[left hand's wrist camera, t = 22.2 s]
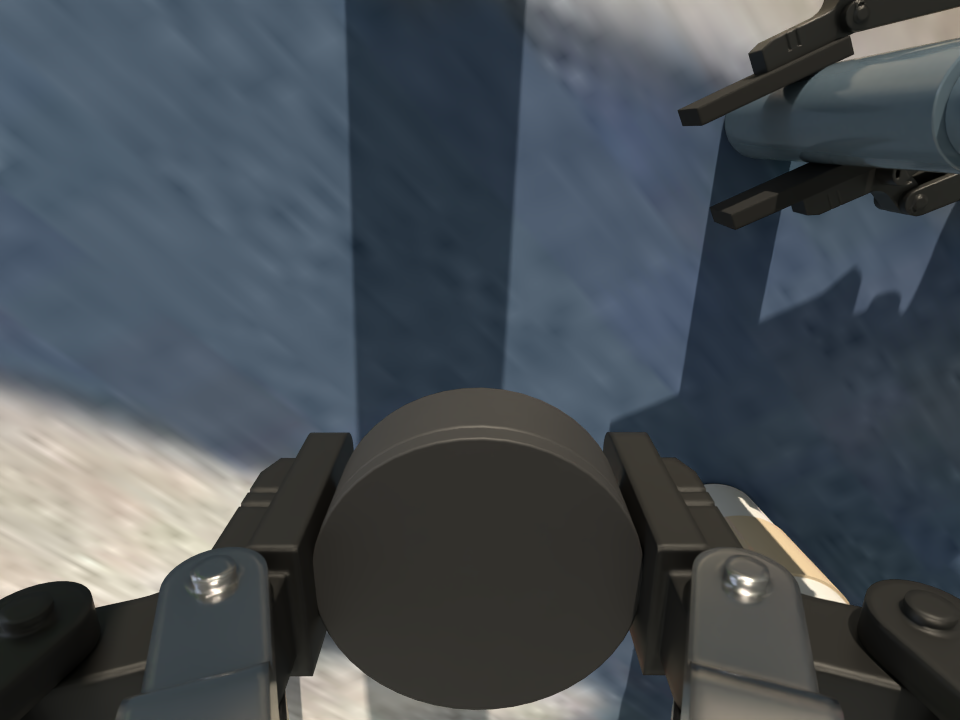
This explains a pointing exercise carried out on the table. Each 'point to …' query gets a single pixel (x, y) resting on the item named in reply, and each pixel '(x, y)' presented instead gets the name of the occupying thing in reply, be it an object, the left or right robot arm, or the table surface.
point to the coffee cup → (770, 541)
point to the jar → (862, 113)
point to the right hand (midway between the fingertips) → (707, 168)
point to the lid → (478, 552)
